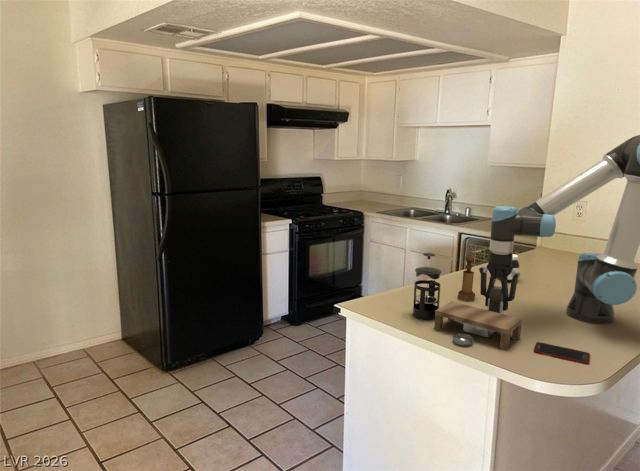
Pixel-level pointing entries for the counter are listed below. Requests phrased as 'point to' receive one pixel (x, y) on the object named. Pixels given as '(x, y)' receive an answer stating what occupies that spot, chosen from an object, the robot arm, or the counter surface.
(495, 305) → the scraper
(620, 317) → the counter surface
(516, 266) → the spread jar
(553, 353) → the cell phone
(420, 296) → the french press
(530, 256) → the counter surface
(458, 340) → the steel token
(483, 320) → the low bench
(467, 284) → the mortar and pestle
